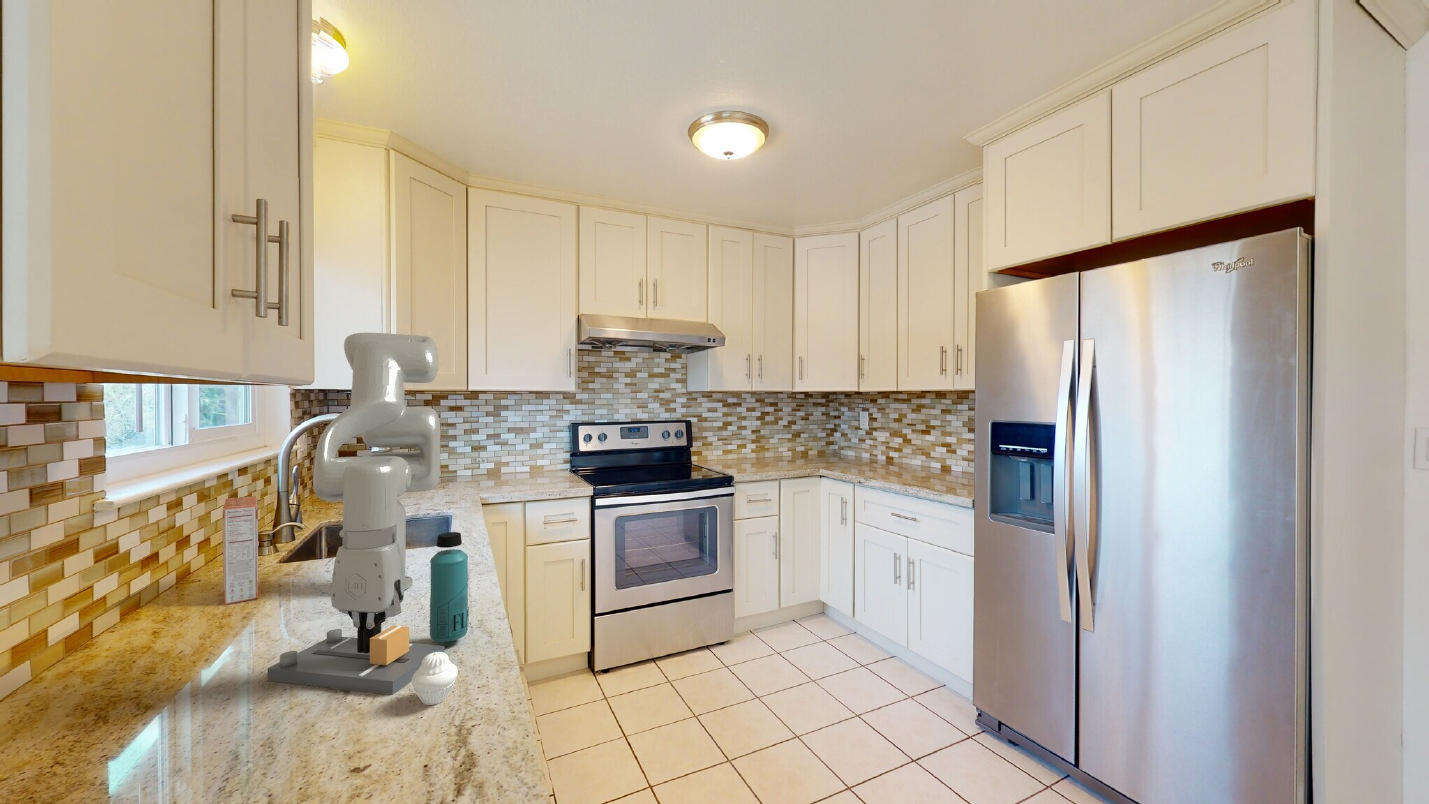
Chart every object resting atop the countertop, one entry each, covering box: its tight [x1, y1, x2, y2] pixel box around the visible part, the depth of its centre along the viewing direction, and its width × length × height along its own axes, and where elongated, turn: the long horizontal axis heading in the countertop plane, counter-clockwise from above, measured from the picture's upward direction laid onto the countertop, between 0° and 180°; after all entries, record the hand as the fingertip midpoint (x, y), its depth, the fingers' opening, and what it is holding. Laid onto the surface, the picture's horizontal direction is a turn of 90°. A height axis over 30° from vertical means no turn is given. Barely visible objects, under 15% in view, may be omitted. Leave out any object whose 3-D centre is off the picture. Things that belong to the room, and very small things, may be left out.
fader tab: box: [370, 624, 410, 665], centre depth 89 cm, size 3×5×4 cm, turn 171°
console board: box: [266, 628, 445, 696], centre depth 90 cm, size 22×12×4 cm, turn 81°
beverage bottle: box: [428, 531, 470, 643], centre depth 100 cm, size 6×7×20 cm
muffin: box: [410, 651, 459, 706], centre depth 81 cm, size 6×6×7 cm
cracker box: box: [222, 495, 259, 605], centre depth 123 cm, size 14×6×21 cm, turn 40°
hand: (369, 649), depth 90 cm, fingers closed
